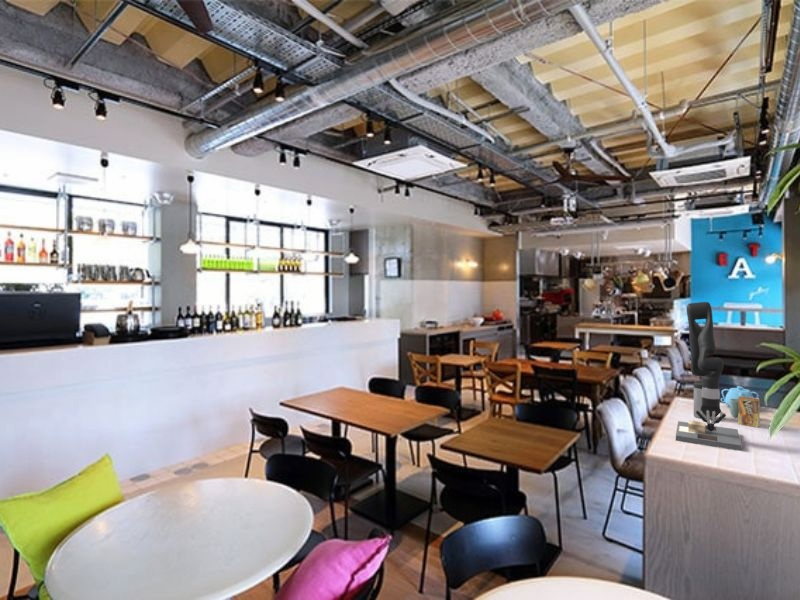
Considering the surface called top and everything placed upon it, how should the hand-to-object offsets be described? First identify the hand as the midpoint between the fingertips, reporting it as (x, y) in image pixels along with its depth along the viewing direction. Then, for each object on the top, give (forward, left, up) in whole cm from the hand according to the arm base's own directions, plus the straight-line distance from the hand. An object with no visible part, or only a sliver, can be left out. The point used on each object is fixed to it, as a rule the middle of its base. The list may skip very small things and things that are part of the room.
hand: (710, 430), depth 222 cm
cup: (-39, -36, -4) cm, 53 cm away
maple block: (+5, -3, -1) cm, 6 cm away
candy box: (-34, -21, -4) cm, 40 cm away
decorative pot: (-54, -56, -4) cm, 78 cm away
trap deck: (+1, -1, -4) cm, 4 cm away
